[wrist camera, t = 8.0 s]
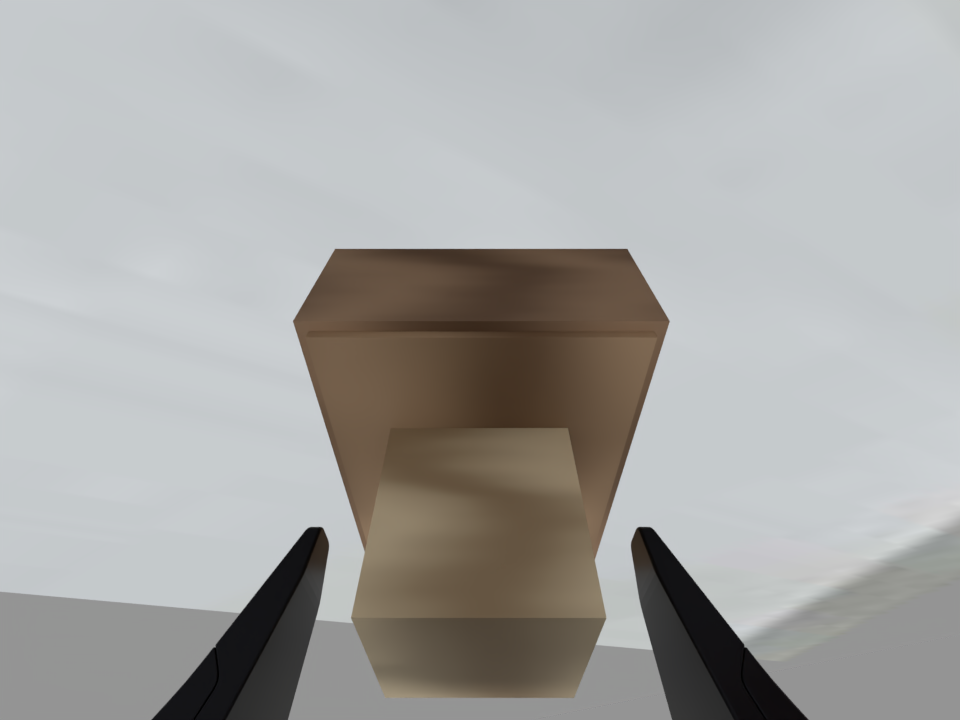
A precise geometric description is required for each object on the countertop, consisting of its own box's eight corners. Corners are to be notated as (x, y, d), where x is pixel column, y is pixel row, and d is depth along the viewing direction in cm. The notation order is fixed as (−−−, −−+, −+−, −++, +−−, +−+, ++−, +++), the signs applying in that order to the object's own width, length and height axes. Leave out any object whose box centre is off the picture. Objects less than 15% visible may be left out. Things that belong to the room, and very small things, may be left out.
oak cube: (408, 525, 16) (385, 697, 12) (390, 428, 13) (350, 617, 9) (551, 525, 16) (574, 698, 12) (567, 428, 13) (606, 618, 9)
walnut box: (385, 485, 21) (368, 574, 18) (335, 248, 14) (289, 327, 11) (575, 485, 21) (593, 574, 18) (627, 248, 14) (673, 327, 11)
